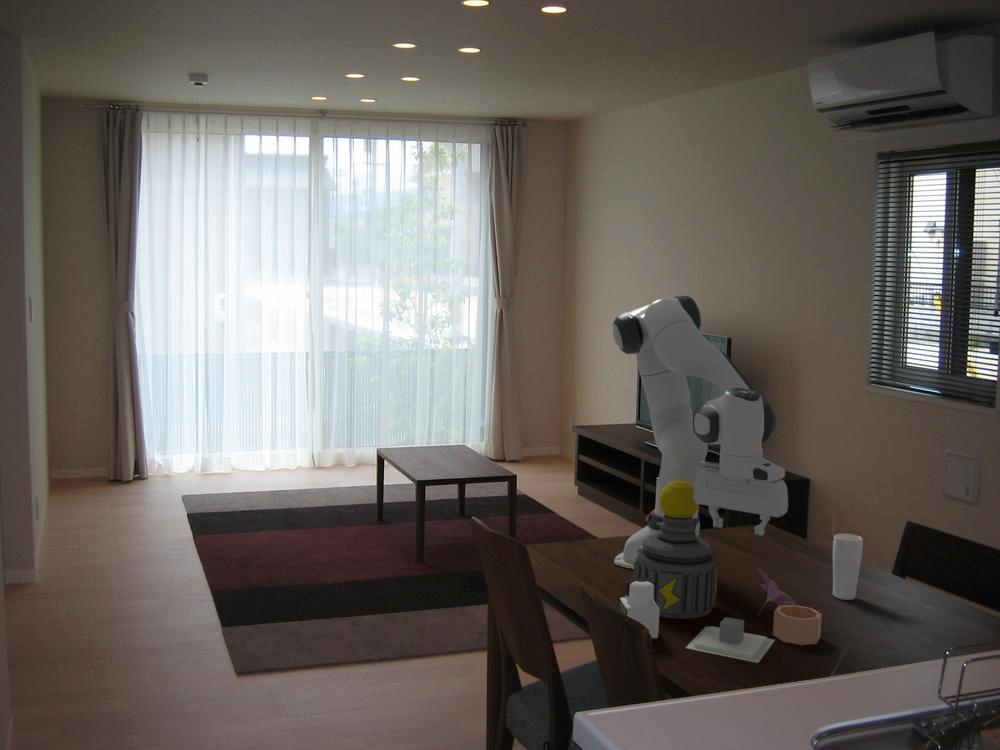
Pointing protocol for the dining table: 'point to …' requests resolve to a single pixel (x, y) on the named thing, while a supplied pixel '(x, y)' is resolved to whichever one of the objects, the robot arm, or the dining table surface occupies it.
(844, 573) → the drinking glass
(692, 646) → the mat
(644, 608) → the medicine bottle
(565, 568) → the dining table surface
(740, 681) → the dining table surface
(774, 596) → the lily
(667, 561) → the decorative lamp
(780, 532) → the dining table surface
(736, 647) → the lid
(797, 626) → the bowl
